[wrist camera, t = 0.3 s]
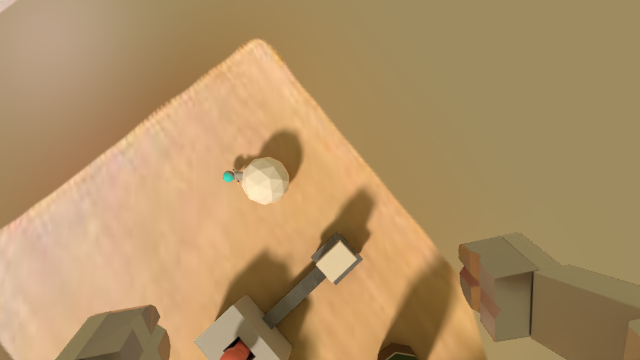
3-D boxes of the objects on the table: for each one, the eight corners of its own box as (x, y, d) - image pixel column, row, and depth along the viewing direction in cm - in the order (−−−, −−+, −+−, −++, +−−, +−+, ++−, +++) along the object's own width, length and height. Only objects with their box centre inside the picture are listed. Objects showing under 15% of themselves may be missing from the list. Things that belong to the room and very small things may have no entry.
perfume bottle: (287, 215, 59) (221, 210, 61) (297, 179, 64) (236, 176, 66) (278, 184, 53) (206, 180, 55) (291, 147, 58) (224, 145, 61)
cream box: (361, 256, 60) (365, 263, 52) (336, 281, 60) (335, 291, 51) (337, 231, 61) (336, 233, 52) (312, 255, 61) (307, 261, 52)
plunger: (263, 342, 57) (249, 365, 48) (247, 358, 57) (230, 383, 48) (248, 326, 58) (232, 345, 49) (232, 341, 57) (213, 363, 49)
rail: (354, 248, 61) (354, 250, 58) (274, 325, 60) (271, 329, 58) (344, 238, 61) (344, 239, 59) (265, 314, 61) (261, 318, 58)
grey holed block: (293, 346, 60) (285, 366, 52) (258, 379, 59) (246, 404, 51) (246, 293, 61) (232, 304, 53) (212, 325, 61) (193, 341, 53)
